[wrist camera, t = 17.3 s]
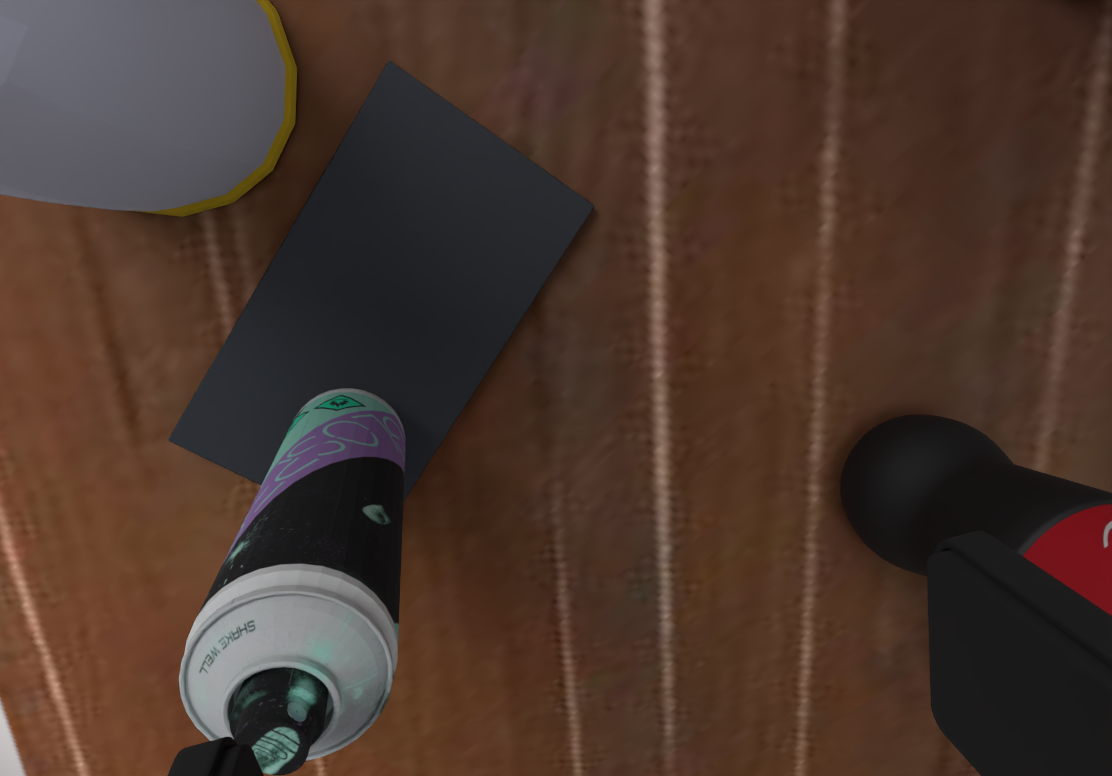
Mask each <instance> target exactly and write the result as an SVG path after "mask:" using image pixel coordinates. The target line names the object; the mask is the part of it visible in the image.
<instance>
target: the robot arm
mask: <svg viewBox="0 0 1112 776" xmlns="http://www.w3.org/2000/svg"><path fill="white" fill-rule="evenodd" d="M927 582H928V617H929V651H930V686H931V707H932V712H933V715H934V718H935V720H936V722H937V724H938V726H939V727H940V729H941V731H942V732H943V733H944V735H945V736H946V737H947V738H948V739H949V740H950V741H951V742H952V744H953V745H954V746H955V747H956V748H957V749H958V750H959V751H960V753H961V754H962V755H963V756H964V757H965V758H966V759H967V760H968V761H969V763H970V764H971V765H972V766H973V767H974V768H975V769H976V770H977V772H978V773H979V774H980V775H981V776H1112V616H1111V615H1110V614H1108V613H1107V612H1105V611H1104V610H1102V609H1101V608H1099V607H1098V606H1096V605H1095V604H1093V603H1092V602H1090V601H1089V600H1087V599H1086V598H1084V597H1083V596H1081V595H1080V594H1078V593H1077V592H1075V591H1074V590H1072V589H1071V588H1070V587H1068V586H1067V585H1065V584H1064V583H1062V582H1061V581H1059V580H1058V579H1056V578H1055V577H1053V576H1052V575H1050V574H1049V573H1047V572H1046V571H1044V570H1043V569H1041V568H1040V567H1038V566H1037V565H1035V564H1034V563H1032V562H1031V561H1029V560H1028V559H1026V558H1025V557H1023V556H1022V555H1020V554H1019V553H1017V552H1016V551H1014V550H1013V549H1011V548H1010V547H1008V546H1007V545H1005V544H1004V543H1002V542H1001V541H999V540H998V539H996V538H995V537H993V536H992V535H990V534H988V533H986V532H984V531H974V532H971V533H967V534H963V535H960V536H956V537H953V538H949V539H945V540H942V541H940V542H938V544H937V546H936V548H935V554H932V555H930V556H929V558H928V560H927ZM168 776H264V775H263V773H262V770H261V768H260V766H259V763H258V761H257V759H256V756H255V754H254V752H253V750H252V748H251V747H250V746H249V745H248V744H243V745H240V746H238V745H237V743H236V741H235V740H234V739H233V738H232V737H223V738H220V739H216V740H212V741H209V742H205V743H201V744H198V745H194V746H190V747H187V748H184V749H182V750H181V751H179V753H178V754H177V756H176V758H175V760H174V762H173V764H172V767H171V769H170V771H169V774H168Z"/></svg>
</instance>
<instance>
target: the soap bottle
mask: <svg viewBox="0 0 1112 776" xmlns="http://www.w3.org/2000/svg"><path fill="white" fill-rule="evenodd" d="M296 86H297V66H296V63H295V61H294V58H293V55H292V52H291V49H290V46H289V43H288V40H287V38H286V35H285V32H284V29H283V26H282V23H281V20H280V17H279V15H278V12H277V10H276V9H275V8H274V6H273V5H272V4H271V3H270V1H269V0H0V194H2V195H8V196H14V197H20V198H25V199H31V200H37V201H43V202H50V203H58V204H67V205H75V206H84V207H93V208H101V209H110V210H129V211H137V212H146V213H155V214H163V215H172V216H180V217H183V216H187V215H191V214H194V213H198V212H202V211H205V210H209V209H213V208H216V207H220V206H224V205H227V204H231V203H234V202H235V201H236V200H238V199H239V198H240V197H241V196H242V195H244V194H245V193H246V192H247V191H249V190H250V189H251V188H252V187H253V186H255V185H256V184H257V183H258V182H259V181H261V180H262V179H263V178H264V177H266V176H267V175H268V174H269V173H270V172H272V171H273V169H274V167H275V165H276V163H277V161H278V159H279V157H280V154H281V152H282V150H283V148H284V146H285V144H286V142H287V140H288V138H289V136H290V133H291V131H292V129H293V127H294V125H295V114H296Z"/></svg>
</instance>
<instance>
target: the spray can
mask: <svg viewBox="0 0 1112 776" xmlns="http://www.w3.org/2000/svg"><path fill="white" fill-rule="evenodd" d="M404 472H405V434H404V429H403V425H402V423H401V421H400V419H399V417H398V415H397V414H396V412H395V411H394V410H393V408H392V407H391V406H390V405H389V404H387V403H386V402H385V401H384V400H383V399H381V398H379V397H378V396H376V395H374V394H372V393H369V392H367V391H364V390H358V389H353V388H341V389H336V390H330V391H327V392H325V393H322V394H320V395H318V396H316V397H315V398H313V399H311V400H310V401H309V402H308V403H307V404H306V405H305V406H304V407H302V409H301V410H300V411H299V413H298V414H297V416H296V417H295V419H294V420H293V422H292V424H291V426H290V428H289V430H288V432H287V434H286V436H285V438H284V441H283V443H282V445H281V447H280V449H279V451H278V453H277V455H276V457H275V459H274V461H273V463H272V465H271V467H270V469H269V471H268V473H267V475H266V477H265V479H264V481H263V483H262V485H261V487H260V489H259V491H258V494H257V496H256V498H255V500H254V502H253V504H252V506H251V508H250V510H249V512H248V514H247V516H246V518H245V520H244V522H243V524H242V526H241V528H240V530H239V532H238V534H237V536H236V538H235V540H234V542H233V545H232V547H231V549H230V551H229V553H228V555H227V557H226V559H225V561H224V563H223V565H222V567H221V569H220V571H219V573H218V575H217V577H216V579H215V581H214V583H213V585H212V587H211V589H210V591H209V593H208V595H207V598H206V600H205V602H204V604H203V606H202V608H201V610H200V612H199V614H198V616H197V618H196V620H195V622H194V624H193V627H192V629H191V631H190V634H189V636H188V639H187V641H186V648H185V654H184V657H183V659H182V662H181V668H180V675H179V685H180V694H181V698H182V701H183V704H184V707H185V709H186V712H187V714H188V715H189V717H190V718H191V720H192V721H193V723H194V724H195V726H196V727H197V728H198V729H199V730H200V731H201V732H202V733H203V734H204V735H205V736H206V737H207V738H208V739H209V740H210V741H212V740H216V739H220V738H223V737H232V738H233V739H234V740H235V741H236V743H237V745H238V746H240V745H243V744H248V745H249V746H250V747H251V748H252V750H253V752H254V754H255V756H256V759H257V761H258V763H259V766H260V768H261V770H262V772H264V773H267V774H271V775H285V774H289V773H292V772H294V771H296V770H297V769H299V768H300V767H301V766H302V765H303V763H304V762H305V761H307V760H311V759H315V758H319V757H323V756H325V755H328V754H330V753H333V752H335V751H337V750H340V749H342V748H343V747H345V746H346V745H348V744H350V743H351V742H353V741H354V740H356V739H357V738H359V737H360V736H361V735H362V734H363V733H364V732H365V731H366V730H367V729H368V728H370V727H371V725H372V724H373V723H374V721H375V720H376V719H377V718H378V716H379V715H380V714H381V712H382V710H383V708H384V706H385V704H386V702H387V700H388V697H389V694H390V689H391V685H392V680H393V678H394V674H395V669H396V665H397V654H398V628H399V602H400V576H401V550H402V524H403V498H404Z"/></svg>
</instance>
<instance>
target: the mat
mask: <svg viewBox="0 0 1112 776" xmlns="http://www.w3.org/2000/svg"><path fill="white" fill-rule="evenodd" d="M593 208H594V205H593V204H591V203H590V202H588V201H587V200H586V199H584V198H583V197H581V196H580V195H579V194H577V193H576V192H574V191H573V190H572V189H570V188H569V187H567V186H566V185H564V184H563V183H562V182H560V181H559V180H557V179H556V178H555V177H553V176H552V175H550V174H549V173H548V172H546V171H545V170H543V169H542V168H541V167H539V166H538V165H536V164H535V163H533V162H532V161H531V160H529V159H528V158H526V157H525V156H524V155H522V154H521V153H519V152H518V151H517V150H515V149H514V148H512V147H511V146H510V145H508V144H507V143H505V142H504V141H502V140H501V139H500V138H498V137H497V136H495V135H494V134H493V133H491V132H490V131H488V130H487V129H486V128H484V127H483V126H481V125H480V124H479V123H477V122H476V121H474V120H473V119H472V118H470V117H469V116H467V115H466V114H464V113H463V112H462V111H460V110H459V109H457V108H456V107H455V106H453V105H452V104H450V103H449V102H448V101H446V100H445V99H443V98H442V97H441V96H439V95H438V94H436V93H435V92H433V91H432V90H431V89H429V88H428V87H426V86H425V85H424V84H422V83H421V82H419V81H418V80H417V79H415V78H414V77H412V76H411V75H410V74H408V73H407V72H405V71H404V70H403V69H401V68H400V67H398V66H397V65H395V64H394V63H393V62H391V61H388V63H387V64H386V66H385V68H384V70H383V71H382V73H381V75H380V76H379V78H378V80H377V82H376V83H375V85H374V87H373V88H372V90H371V92H370V94H369V95H368V97H367V99H366V100H365V102H364V104H363V106H362V107H361V109H360V111H359V113H358V114H357V116H356V118H355V119H354V121H353V123H352V125H351V126H350V128H349V130H348V131H347V133H346V135H345V137H344V138H343V140H342V142H341V143H340V145H339V147H338V149H337V150H336V152H335V154H334V155H333V157H332V159H331V161H330V162H329V164H328V166H327V168H326V169H325V171H324V173H323V174H322V176H321V178H320V180H319V181H318V183H317V185H316V186H315V188H314V190H313V192H312V193H311V195H310V197H309V198H308V200H307V202H306V204H305V205H304V207H303V209H302V211H301V212H300V214H299V216H298V217H297V219H296V221H295V223H294V224H293V226H292V228H291V229H290V231H289V233H288V235H287V236H286V238H285V240H284V241H283V243H282V245H281V247H280V248H279V250H278V252H277V253H276V255H275V257H274V259H273V260H272V262H271V264H270V266H269V267H268V269H267V271H266V272H265V274H264V276H263V278H262V279H261V281H260V283H259V284H258V286H257V288H256V290H255V291H254V293H253V295H252V296H251V298H250V300H249V302H248V303H247V305H246V307H245V309H244V310H243V312H242V314H241V315H240V317H239V319H238V321H237V322H236V324H235V326H234V327H233V329H232V331H231V333H230V334H229V336H228V338H227V339H226V341H225V343H224V345H223V346H222V348H221V350H220V351H219V353H218V355H217V357H216V358H215V360H214V362H213V364H212V365H211V367H210V369H209V370H208V372H207V374H206V376H205V377H204V379H203V381H202V382H201V384H200V386H199V388H198V389H197V391H196V393H195V394H194V396H193V398H192V400H191V401H190V403H189V405H188V406H187V408H186V410H185V412H184V413H183V415H182V417H181V419H180V420H179V422H178V424H177V425H176V427H175V429H174V431H173V432H172V434H171V436H170V437H169V439H168V440H169V441H170V442H172V443H174V444H177V445H179V446H181V447H183V448H185V449H187V450H189V451H191V452H193V453H195V454H197V455H199V456H202V457H204V458H206V459H208V460H210V461H212V462H214V463H216V464H218V465H220V466H222V467H224V468H227V469H229V470H231V471H233V472H235V473H237V474H239V475H241V476H243V477H245V478H247V479H249V480H252V481H254V482H256V483H258V484H260V485H262V483H263V481H264V479H265V477H266V475H267V473H268V471H269V469H270V467H271V465H272V463H273V461H274V459H275V457H276V455H277V453H278V451H279V449H280V447H281V445H282V443H283V441H284V438H285V436H286V434H287V432H288V430H289V428H290V426H291V424H292V422H293V420H294V419H295V417H296V416H297V414H298V413H299V411H300V410H301V409H302V407H304V406H305V405H306V404H307V403H308V402H309V401H310V400H311V399H313V398H315V397H316V396H318V395H320V394H322V393H325V392H327V391H330V390H336V389H341V388H353V389H358V390H364V391H367V392H369V393H372V394H374V395H376V396H378V397H379V398H381V399H383V400H384V401H385V402H386V403H387V404H389V405H390V406H391V407H392V408H393V410H394V411H395V412H396V414H397V415H398V417H399V419H400V421H401V423H402V425H403V429H404V434H405V472H404V498H403V501H404V500H405V498H406V497H407V495H408V493H409V492H410V490H411V489H412V487H413V486H414V484H415V483H416V481H417V480H418V478H419V477H420V475H421V473H422V472H423V470H424V469H425V467H426V466H427V464H428V463H429V461H430V460H431V458H432V456H433V455H434V453H435V452H436V450H437V449H438V447H439V446H440V444H441V443H442V441H443V439H444V438H445V436H446V435H447V433H448V432H449V430H450V429H451V427H452V426H453V424H454V422H455V421H456V419H457V418H458V416H459V415H460V413H461V412H462V410H463V409H464V407H465V405H466V404H467V402H468V401H469V399H470V398H471V396H472V395H473V393H474V392H475V390H476V388H477V387H478V385H479V384H480V382H481V381H482V379H483V378H484V376H485V375H486V373H487V371H488V370H489V368H490V367H491V365H492V364H493V362H494V361H495V359H496V358H497V356H498V354H499V353H500V351H501V350H502V348H503V347H504V345H505V344H506V342H507V341H508V339H509V338H510V336H511V334H512V333H513V331H514V330H515V328H516V327H517V325H518V324H519V322H520V321H521V319H522V317H523V316H524V314H525V313H526V311H527V310H528V308H529V307H530V305H531V304H532V302H533V300H534V299H535V297H536V296H537V294H538V293H539V291H540V290H541V288H542V287H543V285H544V283H545V282H546V280H547V279H548V277H549V276H550V274H551V273H552V271H553V270H554V268H555V266H556V265H557V263H558V262H559V260H560V259H561V257H562V256H563V254H564V253H565V251H566V249H567V248H568V246H569V245H570V243H571V242H572V240H573V239H574V237H575V236H576V234H577V232H578V231H579V229H580V228H581V226H582V225H583V223H584V222H585V220H586V219H587V217H588V215H589V214H590V212H591V211H592V209H593Z"/></svg>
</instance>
